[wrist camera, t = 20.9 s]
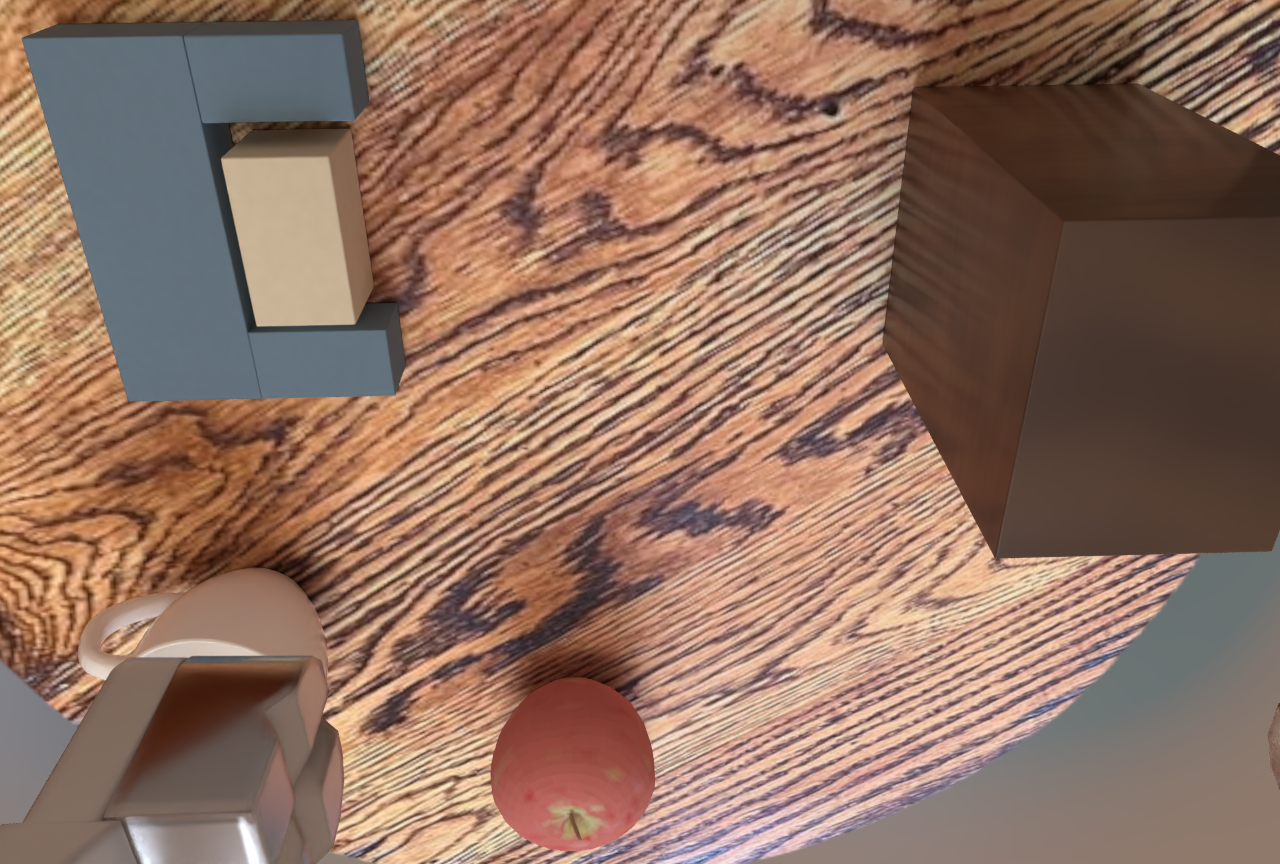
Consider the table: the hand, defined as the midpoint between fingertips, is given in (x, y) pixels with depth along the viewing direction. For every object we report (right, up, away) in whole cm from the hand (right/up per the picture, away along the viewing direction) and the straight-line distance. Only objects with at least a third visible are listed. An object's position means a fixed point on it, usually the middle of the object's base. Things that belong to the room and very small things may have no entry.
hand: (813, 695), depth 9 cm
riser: (+12, +10, +31) cm, 34 cm away
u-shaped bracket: (-16, +10, +30) cm, 35 cm away
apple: (-5, -11, +43) cm, 44 cm away
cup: (-20, -5, +39) cm, 44 cm away
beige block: (-13, +10, +30) cm, 34 cm away
